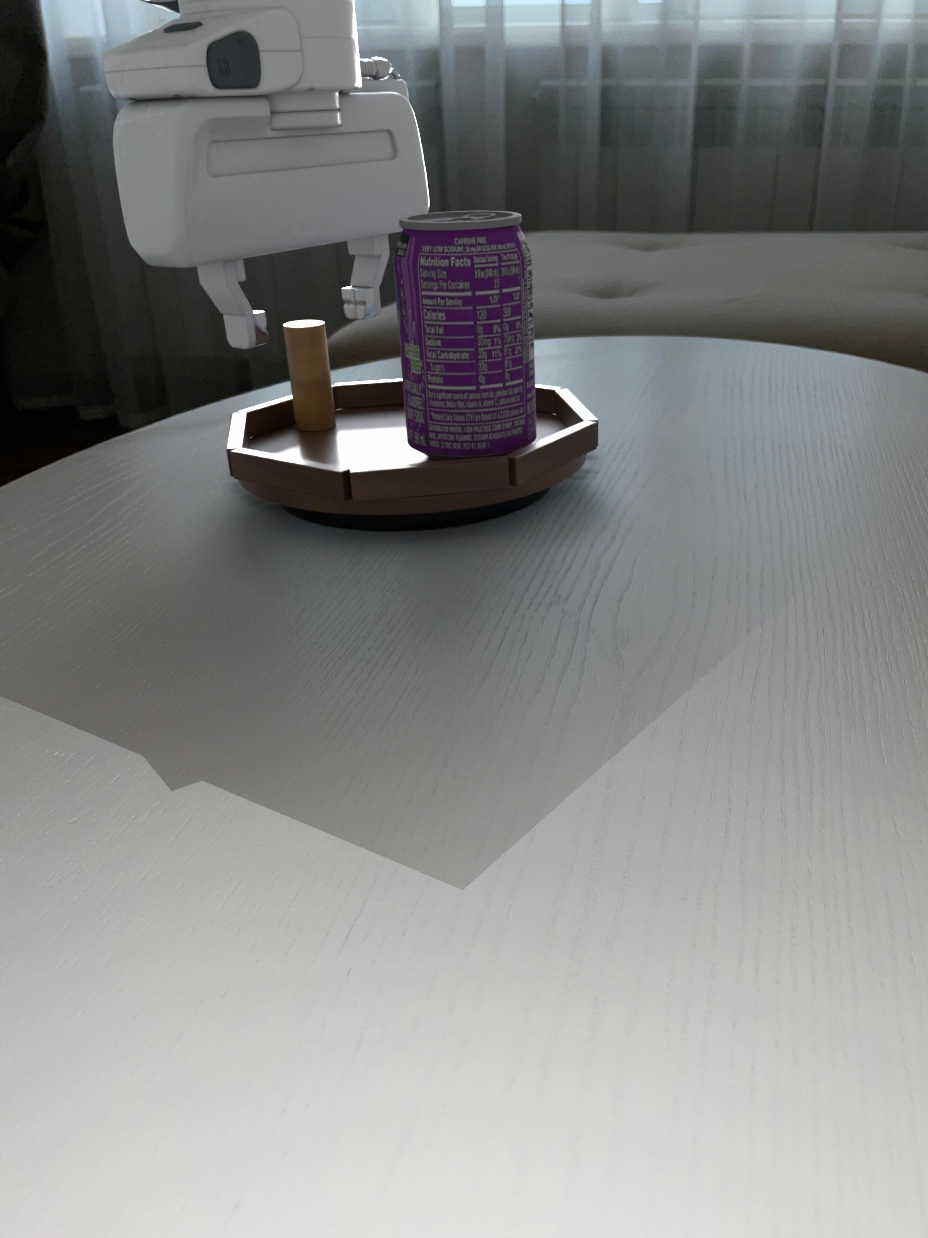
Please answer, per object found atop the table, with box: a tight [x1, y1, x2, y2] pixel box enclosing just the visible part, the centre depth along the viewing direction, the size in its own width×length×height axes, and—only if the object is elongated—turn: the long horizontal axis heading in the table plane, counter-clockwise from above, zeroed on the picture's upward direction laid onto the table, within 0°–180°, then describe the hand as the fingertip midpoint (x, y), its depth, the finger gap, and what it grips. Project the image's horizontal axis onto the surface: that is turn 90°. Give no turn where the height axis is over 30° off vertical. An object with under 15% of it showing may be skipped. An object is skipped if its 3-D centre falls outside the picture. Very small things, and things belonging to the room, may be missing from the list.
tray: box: [225, 319, 599, 515], centre depth 62 cm, size 20×20×7 cm
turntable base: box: [278, 487, 552, 533], centre depth 64 cm, size 16×16×2 cm
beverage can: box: [392, 210, 537, 461], centre depth 58 cm, size 7×7×12 cm
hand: (309, 331), depth 64 cm, fingers open, 8 cm apart
